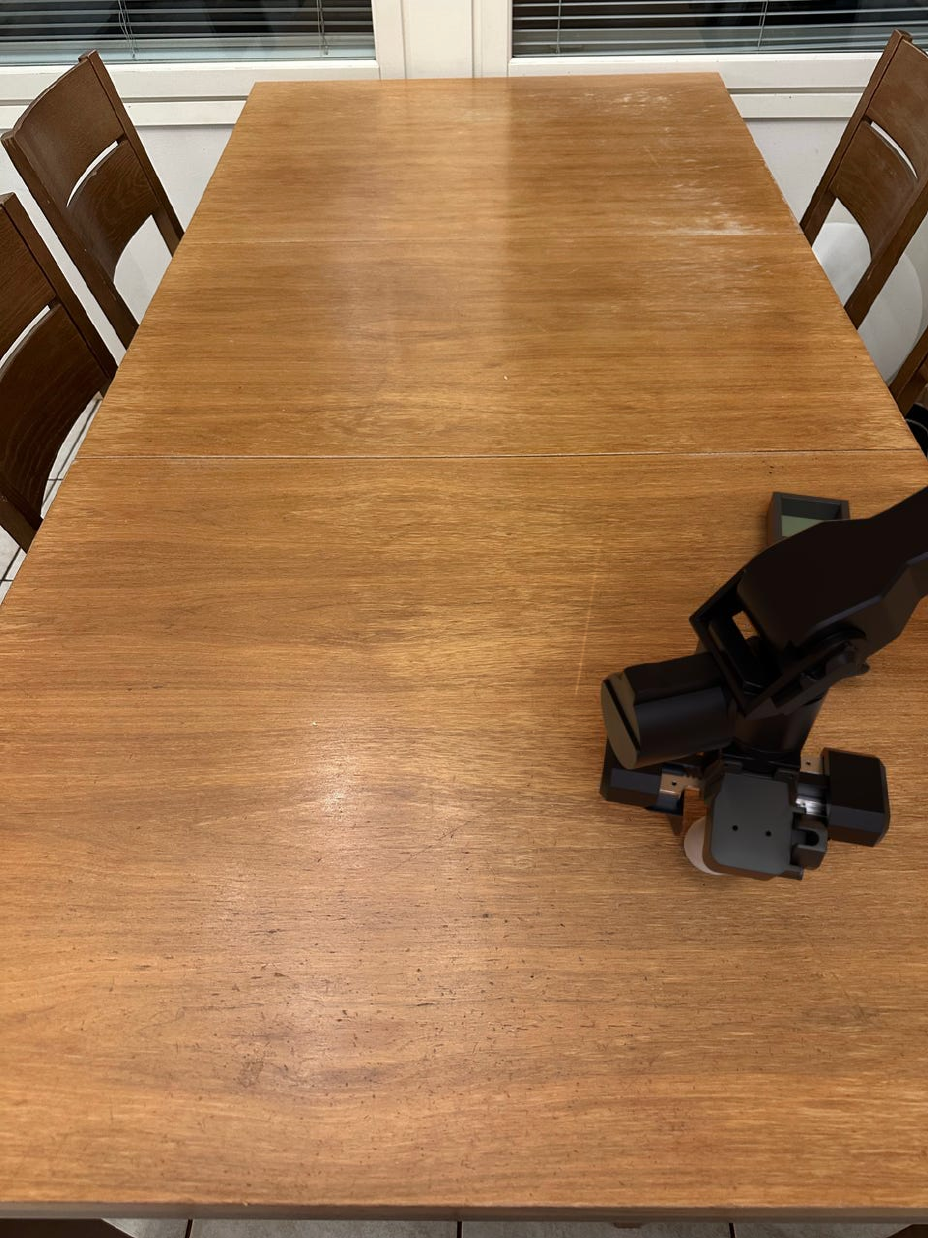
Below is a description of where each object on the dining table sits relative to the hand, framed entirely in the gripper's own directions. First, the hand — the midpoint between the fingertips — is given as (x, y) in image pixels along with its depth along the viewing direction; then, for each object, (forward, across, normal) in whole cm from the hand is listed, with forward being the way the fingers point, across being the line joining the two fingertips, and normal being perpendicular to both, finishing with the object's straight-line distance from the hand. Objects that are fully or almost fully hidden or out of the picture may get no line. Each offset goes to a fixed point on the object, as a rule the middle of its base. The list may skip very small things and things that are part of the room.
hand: (717, 837), depth 71 cm
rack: (+2, +8, +30) cm, 31 cm away
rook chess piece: (+2, 0, 0) cm, 2 cm away
